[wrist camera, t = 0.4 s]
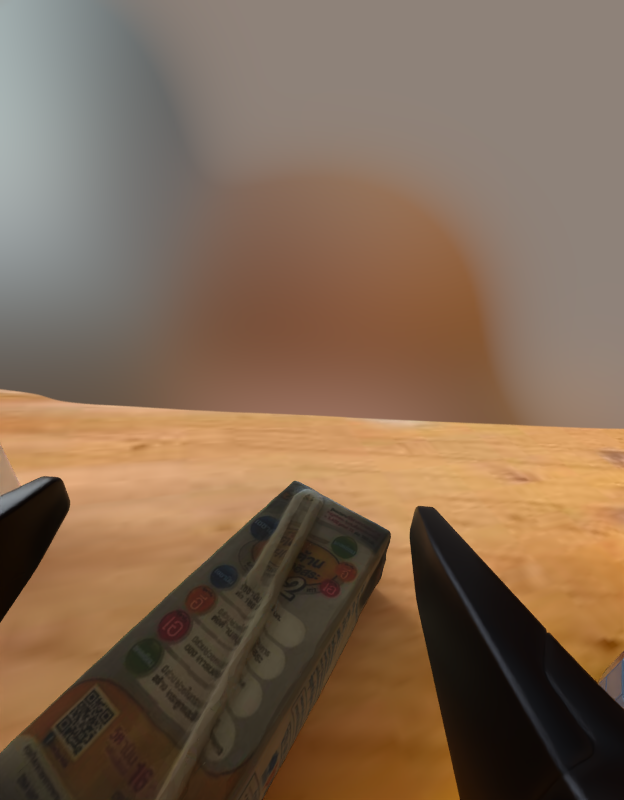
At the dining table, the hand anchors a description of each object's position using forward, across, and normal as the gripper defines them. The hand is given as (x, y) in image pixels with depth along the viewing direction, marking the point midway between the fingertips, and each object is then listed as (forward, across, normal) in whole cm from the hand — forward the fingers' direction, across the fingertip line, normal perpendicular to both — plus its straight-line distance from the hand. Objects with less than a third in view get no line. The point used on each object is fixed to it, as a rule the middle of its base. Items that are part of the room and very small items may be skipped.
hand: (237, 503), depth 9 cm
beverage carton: (+3, +1, +17) cm, 17 cm away
